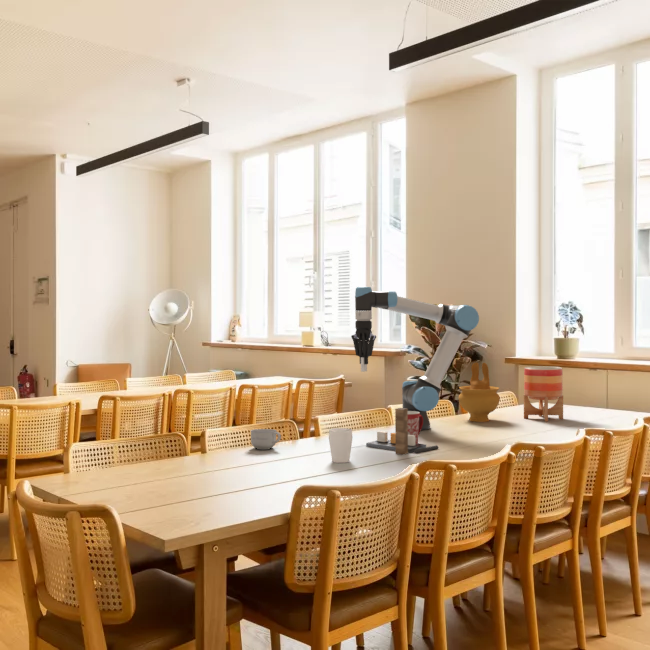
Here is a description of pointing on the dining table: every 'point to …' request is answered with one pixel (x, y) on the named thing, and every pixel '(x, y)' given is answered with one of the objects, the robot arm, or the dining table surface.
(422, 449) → the dark grey rod
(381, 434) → the paddle
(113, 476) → the dining table surface
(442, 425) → the dining table surface
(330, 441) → the cup
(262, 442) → the teacup
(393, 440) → the block
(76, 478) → the dining table surface
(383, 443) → the switch plate
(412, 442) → the cream rectangular box
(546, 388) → the planter
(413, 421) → the mug
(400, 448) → the post
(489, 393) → the cactus in yellow pot
